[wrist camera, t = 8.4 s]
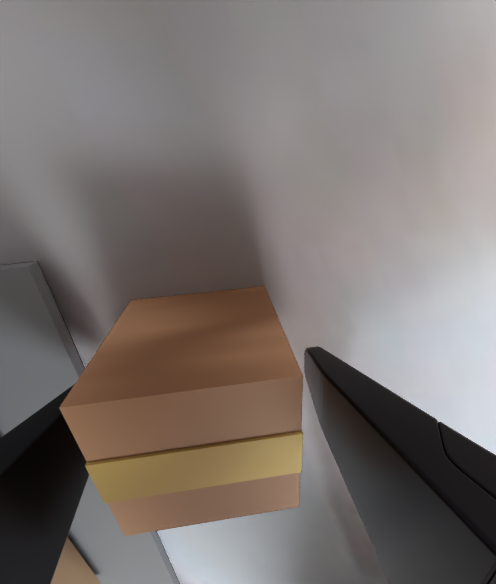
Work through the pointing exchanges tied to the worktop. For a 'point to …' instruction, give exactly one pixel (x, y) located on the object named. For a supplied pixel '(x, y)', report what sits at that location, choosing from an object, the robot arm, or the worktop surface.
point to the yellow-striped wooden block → (191, 411)
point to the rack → (73, 568)
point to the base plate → (40, 391)
